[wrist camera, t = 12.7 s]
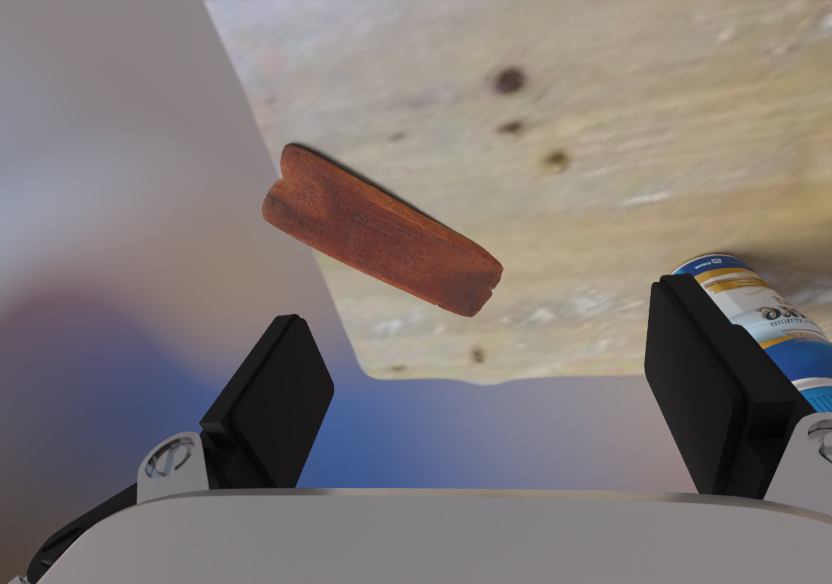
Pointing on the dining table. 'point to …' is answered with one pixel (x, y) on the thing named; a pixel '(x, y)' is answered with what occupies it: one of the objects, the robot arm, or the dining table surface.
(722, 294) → the beverage bottle
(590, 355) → the dining table surface
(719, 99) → the dining table surface
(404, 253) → the wooden tablet
